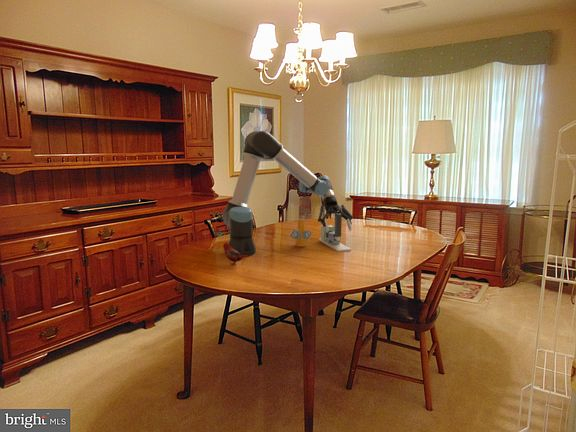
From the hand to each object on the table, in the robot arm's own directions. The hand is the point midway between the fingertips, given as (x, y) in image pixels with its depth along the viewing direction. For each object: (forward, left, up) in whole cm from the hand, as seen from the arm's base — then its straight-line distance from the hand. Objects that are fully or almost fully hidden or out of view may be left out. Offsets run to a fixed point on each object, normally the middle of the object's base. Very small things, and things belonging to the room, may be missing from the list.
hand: (339, 230), depth 228 cm
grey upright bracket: (+8, +5, -6) cm, 11 cm away
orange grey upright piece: (+1, +21, -10) cm, 23 cm away
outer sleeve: (+6, +4, -9) cm, 11 cm away
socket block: (+14, +8, -9) cm, 19 cm away
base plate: (+6, +3, -10) cm, 12 cm away
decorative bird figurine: (-44, +43, -10) cm, 63 cm away
